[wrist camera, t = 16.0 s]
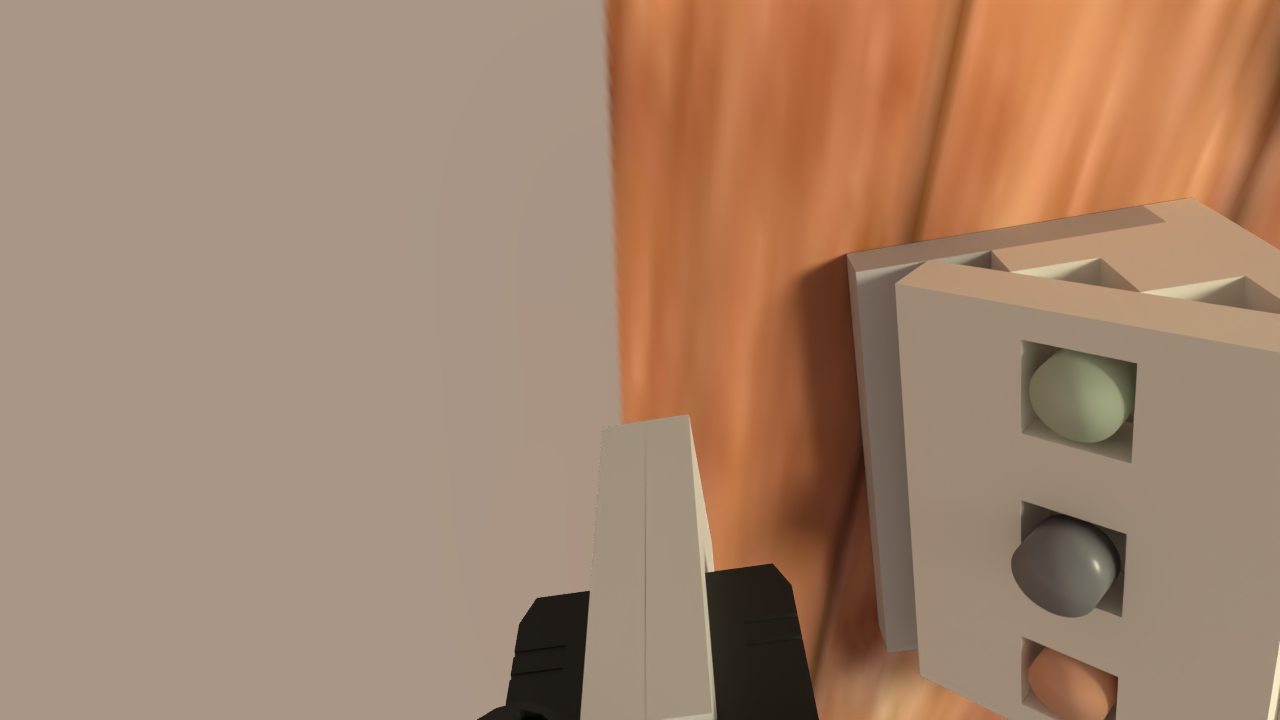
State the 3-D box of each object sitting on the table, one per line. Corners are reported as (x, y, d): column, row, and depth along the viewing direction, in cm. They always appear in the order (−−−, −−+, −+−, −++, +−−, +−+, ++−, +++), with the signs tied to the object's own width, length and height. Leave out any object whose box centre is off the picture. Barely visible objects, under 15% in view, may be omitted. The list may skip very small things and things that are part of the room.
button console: (846, 253, 49) (931, 418, 35) (1192, 197, 48) (1435, 343, 33) (878, 624, 61) (953, 868, 46) (1160, 587, 59) (1331, 827, 44)
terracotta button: (1016, 622, 51) (1048, 687, 47) (1105, 610, 50) (1145, 675, 46) (1016, 678, 53) (1047, 745, 48) (1102, 667, 52) (1140, 734, 48)
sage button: (1015, 333, 43) (1054, 381, 39) (1120, 316, 43) (1169, 363, 39) (1016, 410, 45) (1052, 463, 41) (1116, 395, 45) (1163, 447, 41)
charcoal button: (998, 508, 46) (1032, 569, 42) (1096, 494, 46) (1140, 555, 42) (999, 574, 48) (1032, 639, 44) (1093, 561, 47) (1135, 626, 43)
